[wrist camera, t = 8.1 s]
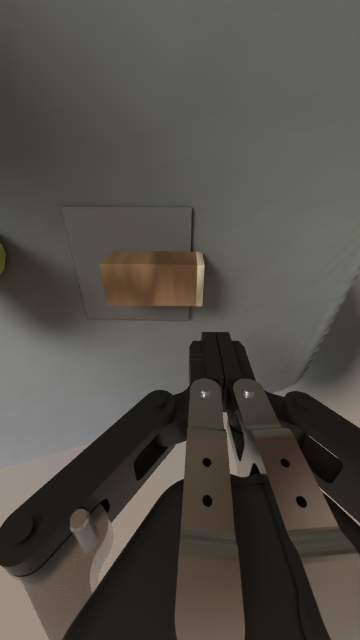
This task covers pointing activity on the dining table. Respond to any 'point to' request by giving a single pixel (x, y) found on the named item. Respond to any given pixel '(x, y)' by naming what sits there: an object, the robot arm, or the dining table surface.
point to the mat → (123, 235)
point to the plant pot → (2, 258)
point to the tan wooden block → (153, 278)
